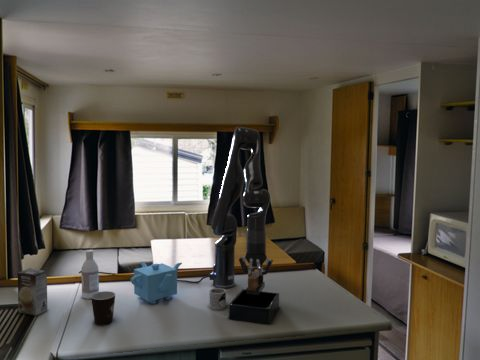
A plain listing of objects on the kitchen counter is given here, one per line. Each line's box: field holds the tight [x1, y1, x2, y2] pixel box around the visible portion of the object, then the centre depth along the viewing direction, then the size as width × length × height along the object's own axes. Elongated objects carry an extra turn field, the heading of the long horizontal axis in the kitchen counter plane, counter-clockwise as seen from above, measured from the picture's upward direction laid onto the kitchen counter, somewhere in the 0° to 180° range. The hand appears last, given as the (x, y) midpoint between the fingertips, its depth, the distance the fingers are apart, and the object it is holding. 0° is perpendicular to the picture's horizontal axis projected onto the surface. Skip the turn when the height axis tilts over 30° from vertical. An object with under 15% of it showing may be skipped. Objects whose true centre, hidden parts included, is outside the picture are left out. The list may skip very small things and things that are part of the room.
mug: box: [208, 287, 227, 311], centre depth 177 cm, size 10×7×7 cm
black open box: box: [228, 288, 280, 325], centre depth 169 cm, size 16×18×6 cm
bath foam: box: [80, 249, 100, 300], centre depth 185 cm, size 7×7×20 cm
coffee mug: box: [90, 290, 116, 326], centre depth 161 cm, size 12×9×10 cm
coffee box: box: [16, 267, 49, 316], centre depth 168 cm, size 9×6×16 cm
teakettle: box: [130, 261, 183, 305], centre depth 184 cm, size 19×19×15 cm
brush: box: [245, 268, 266, 295], centre depth 168 cm, size 5×12×6 cm, turn 163°
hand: (255, 283), depth 169 cm, fingers closed on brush, 3 cm apart
